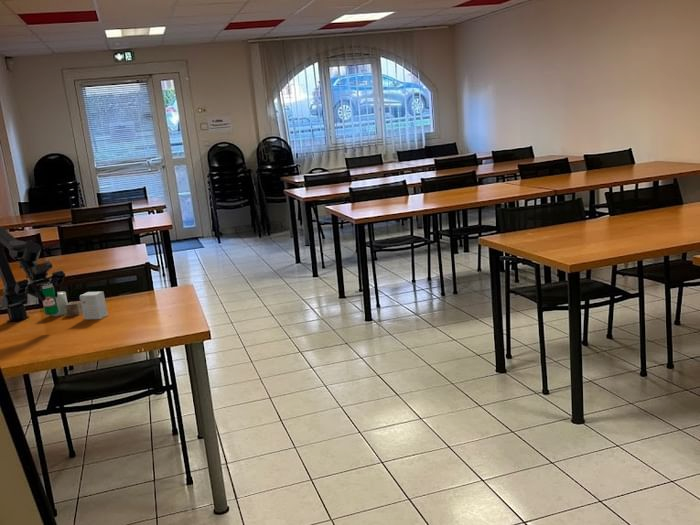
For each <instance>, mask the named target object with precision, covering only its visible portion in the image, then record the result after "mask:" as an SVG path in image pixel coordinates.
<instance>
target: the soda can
mask: <svg viewBox="0 0 700 525" xmlns="http://www.w3.org/2000/svg"><path fill="white" fill-rule="evenodd" d="M39 286H40V287H39V291H40V292H41V294H42V295H43V297H44V301H42V300H41V301H42V306H43V312H44V314H45V315H46V316H52V315H54V314H57V313H58V312H59V310H58V305H57V300H56V295H55V290H54V286H53V285H52V283H45V284H41V285H39Z"/></svg>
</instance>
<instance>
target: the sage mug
mask: <svg viewBox="0 0 700 525" xmlns="http://www.w3.org/2000/svg"><path fill="white" fill-rule="evenodd" d="M57 294H58V296H57V297H56V300H57V305H58V310H59V312H58V313H57V314H54V315H51V316H52V317H60V316H65V315H67V311H66V306H65V305H66V304H68V303H69V302H68V299H67V292H66V291H57Z"/></svg>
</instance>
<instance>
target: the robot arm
mask: <svg viewBox="0 0 700 525" xmlns="http://www.w3.org/2000/svg"><path fill="white" fill-rule="evenodd" d="M5 247H6V248H7V249H8V254H9V256H10V257H11V258H12V259H13V260H19V259H20V260H19V261H18V263H19V269H22V270H23V272H24V273H25V278H26V279H22V280H18V281H16V278H15V276H14V273H13V271H12V268H11V265H10V263H9V261H8V258H7V256H6V253H5V251H4V250H5ZM41 250H42V246H41V245H40V244H39V243H38V242H35V241H33V240H32V239H29V240H26V241H24V240H18V239H17V238H16V237H14V236H13V235H12V234H11V233H10V232H8V231H7V230H6V227H0V279H1V281H2V284H3V290H2V296H3V297H2V301H1V306H2V308H3V309H5V310H6V312H7V315H8V319H7V320H6V322H11V323H12V322H13V321H18V322H22V321H23V320H22V319H24V320H25V318H26V319H28V318H30V315H28V314H27V309H26V307H25V305H27V304H28V295H31V296H33V297H36V299H39V300H41V301H44V297H43V295H42V294H41V292H40V289H39V288H38V287H37V286H41V285H43V284H48V283H52V285H53V286H54V290H55V295H56V297H57V296H58V294H57V292H58V289H57V285H61V284H63V283H64V280H65V277H66V273H65V272H64V271H63V270H57V271H53V272H52V273H51V275H50V276H48V271H50V270H51V269H53V266H54V265H53V264H52V262H51V261H50V260H46V261H44V262H42V263H38V262H37V261H38V260H39V257H40V254H41ZM28 279H29V280H28ZM27 317H28V318H27Z"/></svg>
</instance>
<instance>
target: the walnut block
mask: <svg viewBox="0 0 700 525" xmlns="http://www.w3.org/2000/svg"><path fill="white" fill-rule="evenodd" d="M65 306H66V311H67V314H66V315H67V316H66V317H71V316H72V317H73V316H74V315H75V316H81V314H83V311H82V306H81V301H80V300H77V301H75V300H74V301H70V302H68V304H66V305H65Z"/></svg>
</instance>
